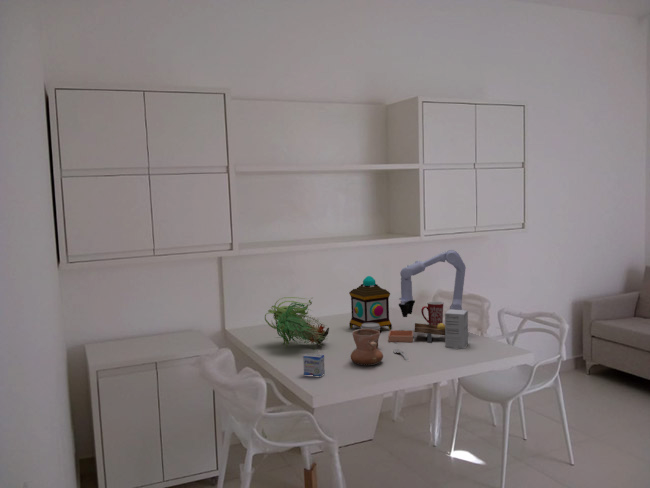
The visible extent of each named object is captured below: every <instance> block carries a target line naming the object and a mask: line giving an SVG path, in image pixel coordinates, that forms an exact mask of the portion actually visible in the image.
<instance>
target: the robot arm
mask: <svg viewBox="0 0 650 488" xmlns="http://www.w3.org/2000/svg"><path fill="white" fill-rule="evenodd" d="M440 262H441V263H446V262H447V263H448V264H449V265H451V266H453V267H454V268H455V270H456V271H455V278H454V279H455V280H454V288H453V294H452V295H453V296H452V303H451V305H450V306H449V309H453V310H463V307H462V303H463V293H464V285H465V276H466V268H467V267H466V264H465V262H464V261H463V259H462V257H461V255H460V254H459V252H457V251H456V250H454V249H449V250H447V251H443V252H440V253H438V254H436V255H434V256H432V257H430V258H428V259H426V260H424V261H422V260H415V261H414V262H413V263H412V264H410V265H408V264H407V266H405V267H403V268H401V271H400V272H399V273H400V277H401V278H400V294H401V295H400V297H399V298H398V300H400V303H398V306H399V309H400V311H401V315H402V318H408V315H412V313H413V308H414V305H415V303H416V300H415V299H414V297H413V285H412V284H413V281H412V276H416V275H418V274H420V273H423V272H424V271H425V270H426V268H428V267H429V266H433V265H434V264H436V263H440Z"/></svg>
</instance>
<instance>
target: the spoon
mask: <svg viewBox="0 0 650 488" xmlns="http://www.w3.org/2000/svg"><path fill="white" fill-rule="evenodd" d="M396 352H397V353H400V355H401V356H402V357H403V358H404V360H405V361H406V360H409V359H410V358H408V357H407V356H406V355H405V354H404V351H402V350H400V349H399V348H394V349H393V353H395V354H397V353H396Z"/></svg>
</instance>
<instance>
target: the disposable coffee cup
mask: <svg viewBox="0 0 650 488" xmlns="http://www.w3.org/2000/svg"><path fill="white" fill-rule="evenodd" d="M360 329H374V330H377V331H379V332H380V329H381V327H380V325H379V324H378V323H364V324H362V325H361V328H360ZM376 348H377V349H378V350H379V342H378V343H377V345H376Z"/></svg>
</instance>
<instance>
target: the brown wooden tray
mask: <svg viewBox="0 0 650 488" xmlns="http://www.w3.org/2000/svg"><path fill="white" fill-rule="evenodd" d="M437 326H438V325H429V323H427V324H426V323H418V322H415V323H414V330H413V333H418V334H419V333H420V334H425V335H426V334H427V333H431V335H437V336H444V337H445V330H440V329H438V328H437Z"/></svg>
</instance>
